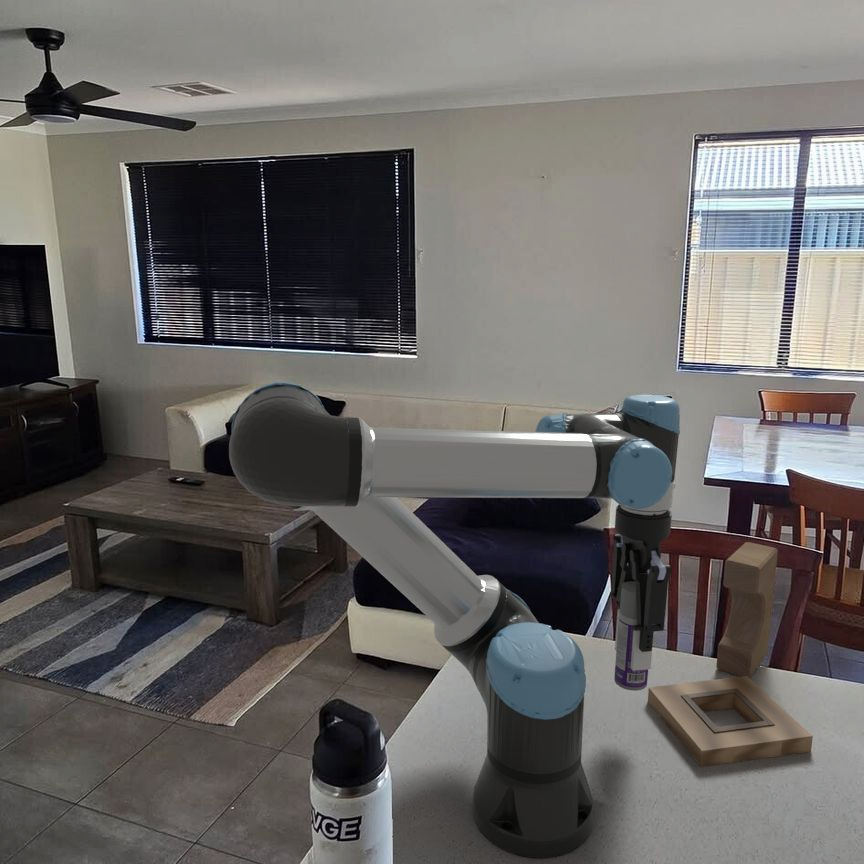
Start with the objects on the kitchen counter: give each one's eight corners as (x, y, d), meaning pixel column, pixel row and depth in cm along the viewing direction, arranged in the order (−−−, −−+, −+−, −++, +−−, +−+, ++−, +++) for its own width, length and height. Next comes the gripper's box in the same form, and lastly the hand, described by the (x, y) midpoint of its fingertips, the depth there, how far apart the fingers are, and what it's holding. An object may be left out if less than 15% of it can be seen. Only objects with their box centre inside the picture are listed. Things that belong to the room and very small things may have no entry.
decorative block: (748, 681, 125) (759, 568, 120) (714, 669, 128) (723, 559, 124) (769, 654, 133) (779, 548, 128) (736, 644, 136) (745, 540, 132)
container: (651, 679, 111) (659, 585, 108) (641, 694, 107) (649, 597, 104) (620, 670, 114) (627, 577, 110) (609, 684, 110) (616, 589, 106)
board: (700, 766, 104) (702, 749, 103) (647, 701, 119) (648, 686, 118) (810, 751, 107) (812, 734, 106) (745, 689, 122) (746, 674, 121)
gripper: (702, 526, 97) (686, 689, 102) (640, 487, 114) (629, 628, 119) (647, 529, 95) (634, 695, 100) (593, 489, 112) (585, 632, 117)
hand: (632, 658), depth 110 cm, fingers closed on container, 5 cm apart
